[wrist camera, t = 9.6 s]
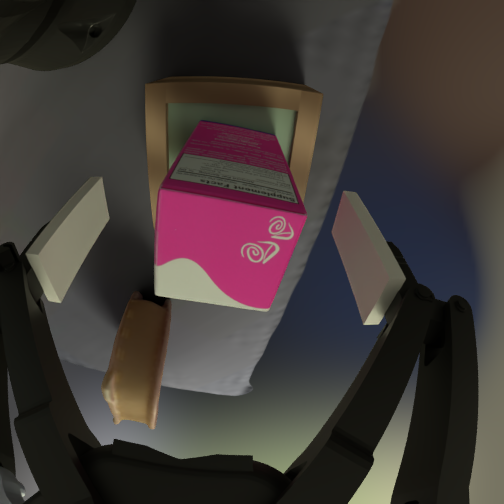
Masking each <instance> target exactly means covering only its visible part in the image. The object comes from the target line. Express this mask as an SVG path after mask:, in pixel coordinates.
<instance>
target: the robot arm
mask: <svg viewBox="0 0 504 504" xmlns="http://www.w3.org/2000/svg"><path fill="white" fill-rule="evenodd" d="M135 2H136V0H0V64H4V63H10V64H14V65H18V66H22V67H25V68H29V69H32V70H37V71H51V70H57V69H61V68H66V67H70V66H73V65H76V64H78V63H81V62H83V61H85V60H86V59H88V58H90V57H91V56H93V55H94V54H96V53H97V52H98V51H100V50H101V49H102V48H103V47H104V46H105V45H106V44H108V43H109V42H110V41H111V40H112V38H113V37H114V36H115V35H116V34H117V33H118V31H119V30H120V29H121V27H122V26H123V25H124V23H125V22H126V20H127V19H128V17H129V15H130V13H131V11H132V9H133V7H134V5H135ZM109 219H110V218H109V213H108V208H107V203H106V198H105V192H104V186H103V180H102V177H90V178H89V179H88V180H87V181H86V182H85V184H84V185H83V186H82V187H81V188H80V189H79V190H78V191H77V192H76V193H75V194H74V195H73V196H72V197H71V198H70V200H69V201H68V202H67V203H66V204H65V205H64V206H63V207H62V209H61V210H60V211H59V212H58V213H57V214H56V216H55V217H54V218H53V219H52V220H51V221H50V222H48V223H47V224H45V225H44V226H43V227H42V228H41V229H40V230H39V231H38V233H37V234H36V235H35V236H34V238H33V239H32V241H30V243H29V244H28V245H27V247H26V248H25V249H24V251H23V252H22V253H21V255H20V256H19V254H18V251H17V249H16V247H15V244H14V243H12V242H7V243H4V244H2V245H0V504H348V502H349V501H350V499H351V498H352V497H353V495H354V494H355V492H356V491H357V489H358V488H359V486H360V485H361V483H362V482H363V480H364V479H365V477H366V476H367V474H368V472H369V471H370V469H371V467H372V465H373V462H374V458H373V452H374V450H375V448H376V446H377V444H378V442H379V441H380V439H381V437H382V436H383V434H384V432H385V430H386V428H387V426H388V424H389V422H390V420H391V418H392V416H393V414H394V412H395V410H396V408H397V406H398V404H399V401H400V399H401V397H402V395H403V393H404V390H405V388H406V386H407V383H408V381H409V378H410V376H411V374H412V371H413V368H414V366H415V363H416V361H417V358H418V355H419V353H420V357H419V368H418V377H417V386H416V393H415V399H414V406H413V412H412V417H411V422H410V428H409V432H408V437H407V442H406V446H405V450H404V454H403V458H402V462H401V465H400V469H399V473H398V476H397V479H396V483H395V486H394V490H393V494H392V498H391V504H469V484H470V479H471V473H472V466H473V461H474V453H475V445H476V435H477V421H478V362H477V348H476V338H475V329H474V321H473V314H472V309H471V306H470V305H469V303H468V302H467V301H466V300H465V299H464V298H462V297H461V296H458V295H453V296H451V297H450V299H449V300H448V302H444V301H441V300H437V299H435V297H434V294H433V293H432V291H431V290H430V289H429V288H427V287H426V286H424V285H422V284H418V283H417V281H416V279H415V277H414V275H413V273H412V271H411V270H410V268H409V266H408V264H406V263H407V262H406V261H405V259H404V258H403V255H402V254H401V252H400V250H399V249H398V248H397V247H396V246H395V245H394V244H393V243H392V242H387V241H385V239H384V237H383V235H382V234H381V232H380V231H379V229H378V227H377V225H376V224H375V222H374V220H373V219H372V217H371V215H370V214H369V212H368V211H367V209H366V207H365V206H364V204H363V202H362V201H361V199H360V198H359V196H358V195H357V193H356V192H348V191H343V194H342V198H341V201H340V205H339V208H338V212H337V215H336V219H335V222H334V226H333V229H332V235H333V238H334V240H335V243H336V245H337V248H338V251H339V254H340V256H341V259H342V262H343V265H344V267H345V270H346V273H347V276H348V279H349V282H350V284H351V287H352V290H353V293H354V296H355V299H356V303H357V306H358V309H359V312H360V315H361V318H362V322H363V324H364V325H371V324H379V323H380V321H381V319H382V318H383V317H384V315H385V318H386V321H387V324H386V325H385V326H384V328H383V329H382V331H381V332H380V334H379V335H378V337H377V338H378V340H377V341H376V343H375V345H374V347H373V349H372V351H371V352H370V354H369V356H368V358H367V360H366V361H365V363H364V365H363V366H362V368H361V370H360V371H359V373H358V375H357V376H356V378H355V380H354V381H353V383H352V384H351V386H350V388H349V389H348V391H347V392H346V394H345V395H344V397H343V398H342V400H341V401H340V403H339V404H338V406H337V408H336V409H335V410H334V412H333V413H332V415H331V416H330V417H329V419H328V421H327V422H326V423H325V425H324V426H323V427H322V429H321V430H320V432H319V433H318V434H317V435H316V437H315V438H314V439H313V441H312V442H311V443H310V445H309V446H308V447H307V448H306V450H305V451H304V452H303V453H302V454H301V455H300V456H299V457H298V458H297V459H296V460H295V461H294V462H293V463H292V465H291V466H290V467H289V468H288V469H287V470H286V471H285V473H284V474H283V473H281V472H280V471H278V470H277V469H275V468H273V467H271V466H269V465H266V464H264V463H261V462H258V461H254V460H253V456H250V455H248V456H247V455H244V456H243V455H219V454H216V455H210V456H204V457H197V458H188V459H177V458H175V457H172V456H169V455H167V454H164V453H162V452H159V451H157V450H155V449H152V448H150V447H148V446H145V445H140V444H135V443H131V442H126V441H122V440H118V439H114V442H113V444H111V445H104V446H101V444H100V443H99V441H98V440H97V438H96V437H95V436H94V435H93V433H92V432H91V431H90V429H89V428H88V426H87V424H86V422H85V420H84V418H83V416H82V414H81V412H80V410H79V407H78V405H77V403H76V401H75V398H74V396H73V394H72V391H71V389H70V386H69V384H68V381H67V379H66V376H65V374H64V371H63V368H62V365H61V362H60V359H59V357H58V354H57V351H56V347H55V344H54V341H53V338H52V334H51V331H50V327H49V324H48V320H47V316H46V312H45V308H44V304H43V302H42V300H41V298H40V297H41V296H42V294H43V292H44V293H45V295H46V297H47V299H48V301H53V302H58V303H61V302H62V300H63V298H64V296H65V294H66V292H67V290H68V288H69V286H70V285H71V283H72V281H73V279H74V277H75V275H76V274H77V272H78V270H79V268H80V266H81V265H82V263H83V261H84V259H85V258H86V256H87V254H88V253H89V251H90V249H91V248H92V246H93V244H94V243H95V241H96V239H97V238H98V236H99V235H100V233H101V231H102V230H103V228H104V227H105V225H106V224H107V222H108V221H109ZM7 369H8V370H7ZM8 371H9V376H10V381H11V385H12V389H13V393H14V397H15V401H16V405H17V408H18V413H19V416H18V417H17V418H15V419H14V426H15V430H16V433H17V436H18V439H19V442H20V445H21V448H22V450H23V453H24V455H25V458H26V461H27V463H28V465H29V468H30V470H31V472H32V474H33V477H34V479H35V481H36V483H37V485H38V488H39V491H38V492H37V493H35V494H34V495H33V496H32V497H30V498H29V499H28V500H26V501H24V500H23V497H24V496H25V492H26V491H25V488H24V486H23V484H22V483H20V482H19V481H18V480H17V479H16V476H15V474H16V473H15V472H16V471H15V458H14V450H13V443H12V436H11V428H10V418H9V405H8V377H7V372H8Z"/></svg>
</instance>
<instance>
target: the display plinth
mask: <svg viewBox="0 0 504 504" xmlns="http://www.w3.org/2000/svg"><path fill="white" fill-rule="evenodd" d="M322 99H323V94H322V93H320V92H318V91H316V90H314V89H312V88H310V87H308V86H306V85H302V84H296V83H288V82H281V81H272V80H263V79H252V78H238V77H215V76H178V77H168V78H164V79H160V80H157V81H153V82H150V83H147V84H145V116H146V143H147V161H148V175H149V187H150V198H151V208H152V217H153V225H154V229H155V221H156V206H157V195H158V190H159V187H160V185H161V183H162V182H163V180H164V178H165V176H166V175H167V173H168V171H169V169H170V168H171V166H172V164H173V163H174V161H175V159H176V158H177V156H178V154H179V153H180V151H181V150H182V148H183V146H184V145H185V143H186V142H187V140H188V138H189V137H190V135H191V134H192V132H193V131H194V129H195V128H196V126H197V124H198V123H199V121H200V120H205V121H212V122H218V123H223V124H228V125H233V126H238V127H243V128H248V129H252V130H256V131H261V132H265V133H269V134H273V135H276V137H277V139H278V142H279V144H280V146H281V149H282V151H283V154H284V156H285V159H286V161H287V164H288V166H289V169H290V171H291V174H292V176H293V178H294V181H295V184H296V186H297V189H298V192H299V194H300V197H301V199H302V202H303V201H304V197H305V192H306V187H307V182H308V177H309V171H310V166H311V161H312V156H313V150H314V145H315V139H316V134H317V128H318V123H319V117H320V111H321V105H322Z"/></svg>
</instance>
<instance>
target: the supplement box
mask: <svg viewBox="0 0 504 504" xmlns="http://www.w3.org/2000/svg"><path fill="white" fill-rule="evenodd" d="M306 218H307V212H306V210H305V207H304V205H303V202H302V199H301V197H300V194H299V192H298V189H297V186H296V184H295V181H294V178H293V176H292V174H291V171H290V169H289V166H288V164H287V161H286V159H285V156H284V154H283V151H282V149H281V146H280V144H279V142H278V139H277V137H276V135H273V134H269V133H265V132H261V131H256V130H252V129H248V128H243V127H238V126H233V125H228V124H223V123H218V122H212V121H205V120H200V121H199V123H198V124H197V126H196V128H195V129H194V131H193V132H192V134H191V135H190V137H189V138H188V140H187V142H186V143H185V145H184V146H183V148H182V150H181V151H180V153H179V154H178V156H177V158H176V159H175V161H174V163H173V164H172V166H171V168H170V169H169V171H168V173H167V175H166V176H165V178H164V180H163V182H162V183H161V185H160V187H159V190H158V195H157V206H156V221H155V244H154V291H155V295H157V296H163V297H169V298H176V299H183V300H190V301H197V302H204V303H211V304H218V305H224V306H231V307H237V308H244V309H251V310H259V311H268V310H269V309H270V306H271V304H272V302H273V299H274V297H275V295H276V292H277V290H278V287H279V285H280V283H281V280H282V278H283V275H284V273H285V271H286V268H287V266H288V263H289V261H290V258H291V256H292V254H293V251H294V248H295V246H296V243H297V241H298V238H299V236H300V233H301V231H302V228H303V226H304V223H305V221H306Z"/></svg>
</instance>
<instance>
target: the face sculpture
mask: <svg viewBox="0 0 504 504" xmlns="http://www.w3.org/2000/svg"><path fill="white" fill-rule="evenodd" d="M171 306H172V304H171V301H170V300H169V299H166V300H165V302H164V305H163V306H159V305H157V304H155V303H153V302H151V301H147V300H143V296H142V294H140V292H138V291H135V292H133V294H132V296H131V298H130V300H129V302H128V304H127V306H126V309H125V312H124V314H123V317H122V319H121V322H120V325H119V329H118V332H117V335H116V338H115V341H114V345H113V350H112V354H111V359H110V363H109V368H108V370H107V372H106V374H105V376H104V379H103V382H102V386H101V389H102V393H103V396H104V399H105V400H106V401H107V402H108V405H109V407H110V410H111V412H112V414H113V416H114V418H113V422H114V423H115V424H119V423H120V421H121V420H133V421H137V422H142V423H146V424H147V425H148V427H149V428H150V429H155V426H156V421H157V415H158V402H159V394H160V387H161V380H162V375H163V368H164V363H165V358H166V352H167V345H168V338H169V331H170V322H171Z"/></svg>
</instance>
